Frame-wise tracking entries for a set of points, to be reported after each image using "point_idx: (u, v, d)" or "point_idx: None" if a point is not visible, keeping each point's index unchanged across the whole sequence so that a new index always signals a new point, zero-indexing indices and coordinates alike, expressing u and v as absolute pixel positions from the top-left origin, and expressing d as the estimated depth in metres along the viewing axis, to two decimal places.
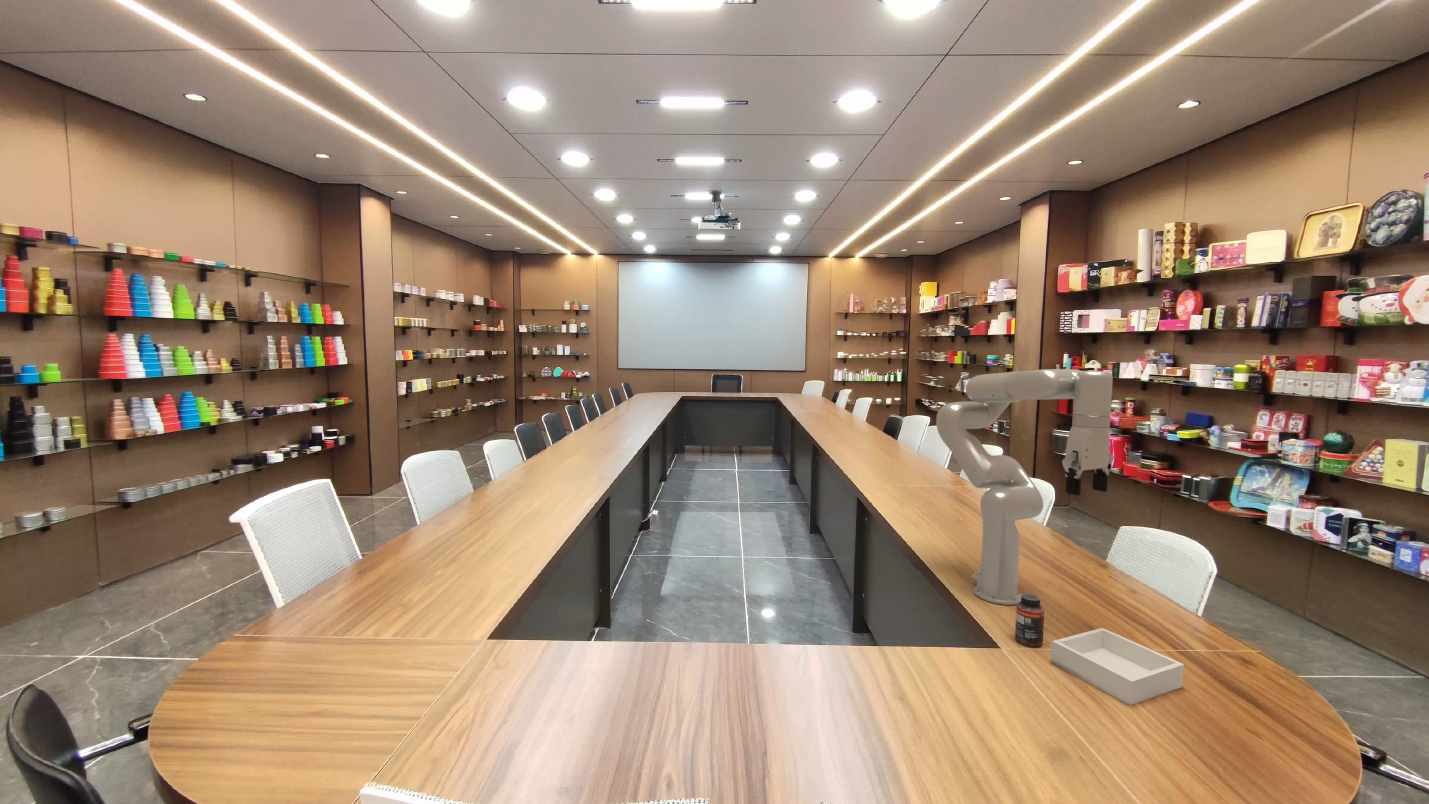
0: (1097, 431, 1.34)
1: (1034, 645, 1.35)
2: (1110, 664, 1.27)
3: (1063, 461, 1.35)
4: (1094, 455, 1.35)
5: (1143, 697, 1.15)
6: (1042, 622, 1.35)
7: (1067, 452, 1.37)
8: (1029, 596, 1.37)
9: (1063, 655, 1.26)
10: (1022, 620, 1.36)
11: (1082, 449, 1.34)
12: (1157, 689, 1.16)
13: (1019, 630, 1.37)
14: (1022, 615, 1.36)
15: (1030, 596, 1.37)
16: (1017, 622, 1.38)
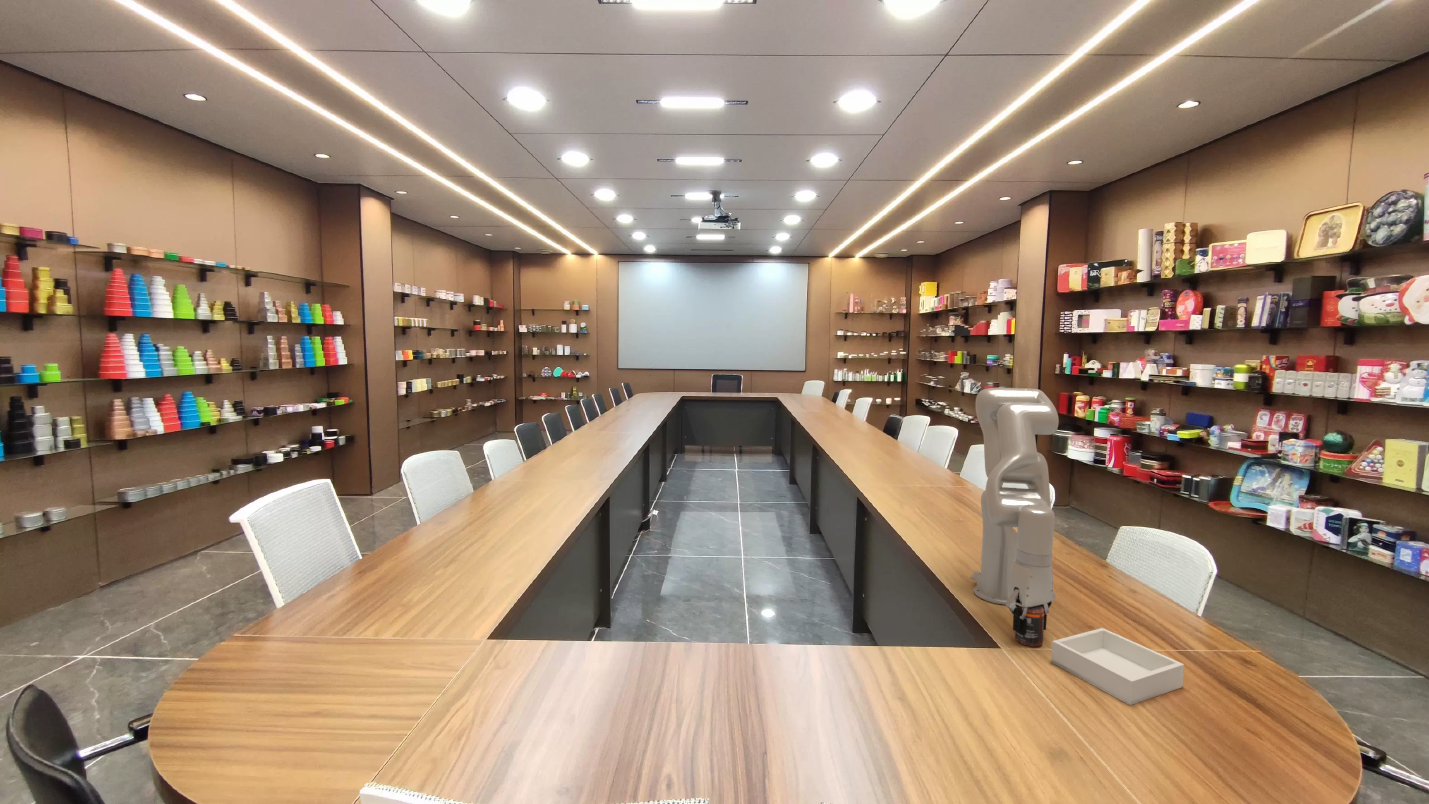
0: (1039, 569, 1.34)
1: (1034, 645, 1.35)
2: (1110, 664, 1.27)
3: (1007, 604, 1.34)
4: (1036, 593, 1.34)
5: (1143, 697, 1.15)
6: (1042, 622, 1.35)
7: (1009, 587, 1.37)
8: None
9: (1063, 655, 1.26)
10: None
11: (1023, 587, 1.33)
12: (1157, 689, 1.16)
13: None
14: None
15: None
16: None
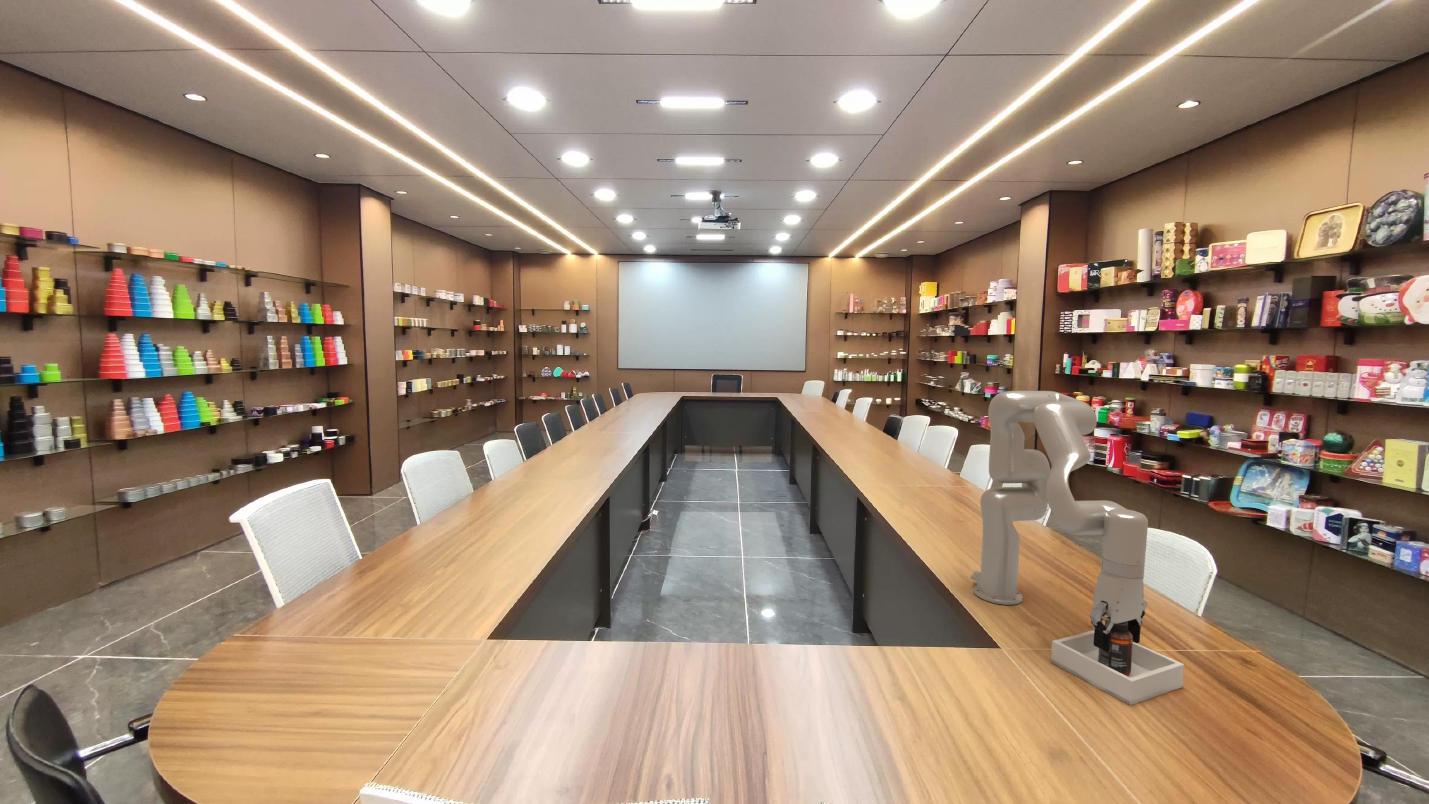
0: (1130, 581, 1.20)
1: None
2: None
3: (1091, 614, 1.20)
4: (1126, 607, 1.20)
5: (1143, 697, 1.15)
6: (1131, 649, 1.22)
7: (1095, 600, 1.23)
8: None
9: (1063, 655, 1.26)
10: None
11: (1112, 601, 1.19)
12: (1157, 689, 1.16)
13: (1104, 658, 1.23)
14: None
15: None
16: None
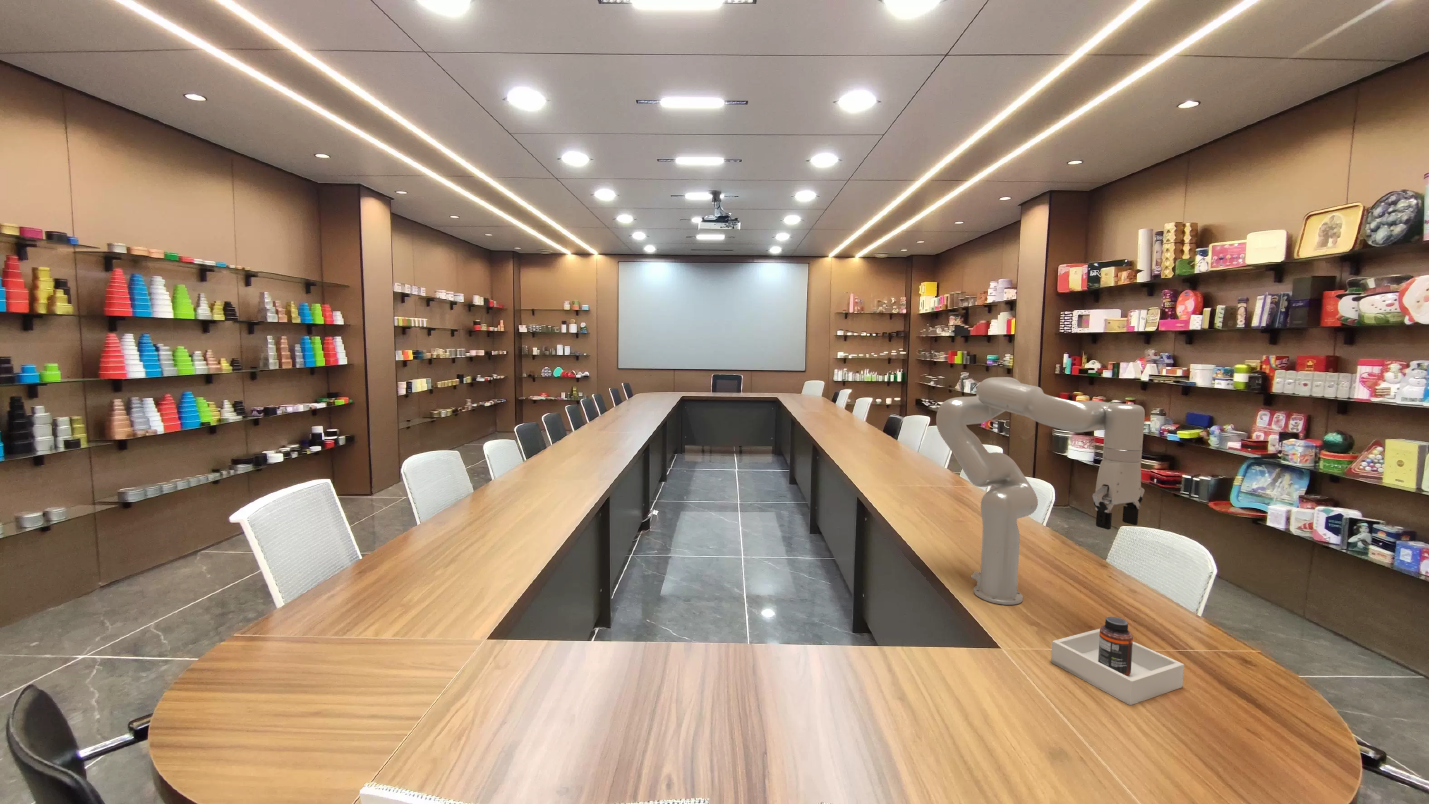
0: (1128, 465, 1.34)
1: None
2: None
3: (1094, 495, 1.34)
4: (1125, 489, 1.34)
5: (1143, 697, 1.15)
6: (1131, 649, 1.22)
7: (1097, 485, 1.37)
8: (1115, 620, 1.23)
9: (1063, 655, 1.26)
10: (1108, 646, 1.22)
11: (1113, 483, 1.33)
12: (1157, 689, 1.16)
13: (1104, 658, 1.23)
14: (1108, 641, 1.22)
15: (1116, 619, 1.24)
16: (1101, 648, 1.24)
